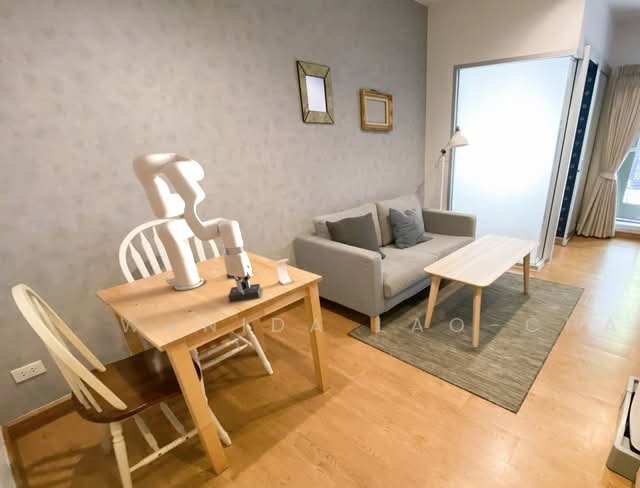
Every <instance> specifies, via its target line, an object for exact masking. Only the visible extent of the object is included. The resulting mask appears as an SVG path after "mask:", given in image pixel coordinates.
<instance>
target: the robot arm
mask: <svg viewBox="0 0 640 488" xmlns="http://www.w3.org/2000/svg"><path fill="white" fill-rule="evenodd" d="M132 170H133V173H134V175H135V177H136V178H137V180H138V181H139V183H140V185H141V186H142V188H143V190H144V193H145V195H146V198H147V201H148V204H149V206H150V208H151V210H152V213H153V214H154V216H155V217H156V218H157V219H164V220H165V219H169V218H173V217H177V216H178V217H179V218H175V219H174V218H173V219H170V220H167V221H163V222H161V223H159V224H158V225H157V226H156V229H155V231H156V232H155V233H156V235H157V237H158V239H159V241H160V243H161V244H162V246H163V248H164V250H165V253H166V256H167V258H168V262H169V264H170V268H171V271H172V273H173V276H174V277H173V278H167V279H165V282H166V283H167V284H168V285H173V287H174V290H176V291H186V290H191V289H192V290H193V289H196V288H198V287H200V286H202V285H203V284H204V283H205V280H204V278H202V277H200V275H199V272H198V269H197V266H196V263H195V260H194V257H193V252H192V251H191V248H190V247H189V245H188V244H186V243H185V242H184V241H183V240H186V239H189V238H192V237H196V238H197V239H198V240H200V241H202V242H209V241H212V240H214V239H218V238H221V241H222V246H223V250H224V254H223V259H224V267H225V271H226V275H227V274H228V275H231V276H233V278H232V279H234V282H237V281H239V280H241V279H242V287H243V290H247V289H248V288H249V283H250V282H249V283H248V280H249V281H250V279H251V278H253V277H254V275H253V271H252V266H251V262H250V260H249V257H248V255H247V253H246V251H245V246H244V242H243V238H242V234H241V229H240V226H239V222H238V221H237V220H233V219H226V218H223V217H217V218H213V219H209V220H206V221H201V219H200V218H199V217H198V215H197V213H196V206H197V205H198V204H200V203H201V202H202V201H203V200H204V199H205V197H206V194H205V192H204V191H203V189H202V188H201V186H200V185H199V184H198V181H201V180H202V179H203V178H204V177H205V176H204V170H203V168H202V166H201V165H200V164H199V163H198V162H197V161H195V160H193V159H191V158H189V157H186V156H184V155H182V154H179V153H176V152H156V153H145V154H140V155H138V156H135V157H134V159H133V160H132ZM159 176H165V177H166V179H167V180H168V182H169V183H170V184H171V186H172V187H173V189H174V190H175V193H171V191H170V190H169V187H168V185H167V183H166V182H165V181H164V180H163V179H162V178H160V177H159ZM244 277H245V278H244Z"/></svg>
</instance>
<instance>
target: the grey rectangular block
mask: <svg viewBox="0 0 640 488" xmlns="http://www.w3.org/2000/svg"><path fill="white" fill-rule="evenodd" d="M244 278H245V277H244ZM248 283H249V288H250V285H251V284H250V279H249V280H248ZM235 284H236V287H237V288H238V292H243V291H245V290H243V287H242V279H241V280H239V281H235Z"/></svg>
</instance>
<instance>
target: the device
mask: <svg viewBox="0 0 640 488" xmlns="http://www.w3.org/2000/svg"><path fill="white" fill-rule="evenodd" d="M261 290H262V289H261V284H260V283H253V284H250V288H248V289H247V290H245V291H243V292H238V288H237V286H232V287H231V288H230V291H229V292H228V299H229V302H230V303H232V302H233V303H234V302H239V301H240V302H241V301H247V300H248V301H249V300H253V299H254V300H255V299H260V296H261V292H262V291H261Z"/></svg>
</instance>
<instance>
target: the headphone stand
mask: <svg viewBox="0 0 640 488" xmlns="http://www.w3.org/2000/svg"><path fill="white" fill-rule="evenodd" d="M287 262H289V258H284V259H280V260H277V261H276V262H275V270H276V274H277V277H278V279H279V280H278V282H279V283H280V284H282V285H283V286H284V285H288V284H291V283H293V280H292V279H291V278H290V276H289V273H288V270H287V266H286V264H287Z"/></svg>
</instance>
